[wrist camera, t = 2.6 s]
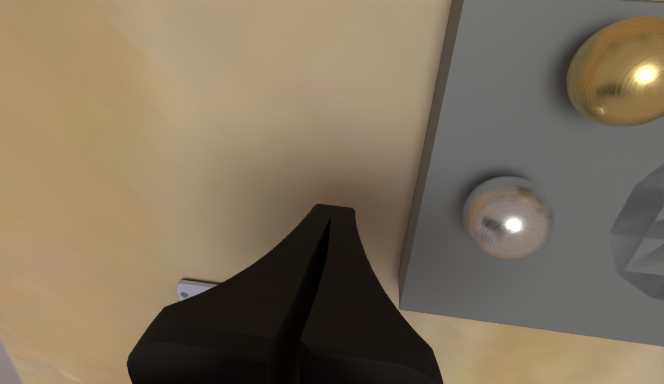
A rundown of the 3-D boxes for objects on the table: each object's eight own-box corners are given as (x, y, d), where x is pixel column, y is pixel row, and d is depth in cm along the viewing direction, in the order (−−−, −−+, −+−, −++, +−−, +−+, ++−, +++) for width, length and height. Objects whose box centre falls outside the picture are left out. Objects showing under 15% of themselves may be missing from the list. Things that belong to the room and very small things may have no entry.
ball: (523, 231, 16) (550, 282, 14) (449, 222, 17) (461, 271, 14) (548, 166, 15) (585, 210, 12) (466, 158, 15) (483, 199, 12)
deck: (398, 276, 22) (399, 309, 20) (454, -13, 14) (465, -10, 12) (728, 320, 20) (767, 361, 18) (991, 22, 13) (1113, 32, 11)
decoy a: (630, 113, 13) (692, 149, 11) (537, 104, 14) (575, 137, 11) (677, 14, 12) (765, 27, 9) (571, 8, 12) (624, 18, 9)
